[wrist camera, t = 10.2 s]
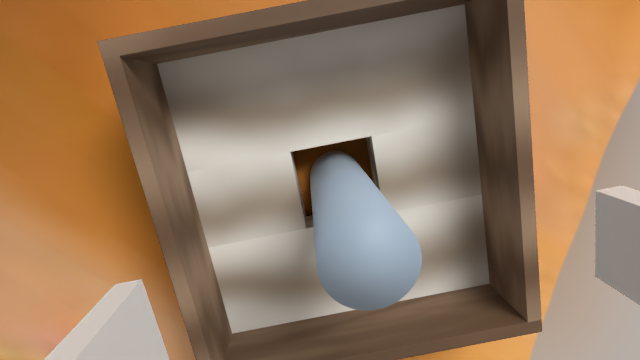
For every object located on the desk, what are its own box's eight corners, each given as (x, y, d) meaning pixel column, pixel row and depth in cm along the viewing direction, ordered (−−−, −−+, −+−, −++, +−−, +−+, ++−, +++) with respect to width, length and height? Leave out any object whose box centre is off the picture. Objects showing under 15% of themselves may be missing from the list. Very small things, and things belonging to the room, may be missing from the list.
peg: (305, 155, 26) (306, 224, 12) (355, 145, 26) (414, 202, 12) (315, 204, 26) (327, 319, 13) (364, 194, 26) (427, 299, 13)
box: (156, 56, 24) (97, 41, 17) (459, -2, 24) (521, -42, 17) (230, 324, 28) (207, 396, 22) (484, 274, 28) (542, 331, 22)
